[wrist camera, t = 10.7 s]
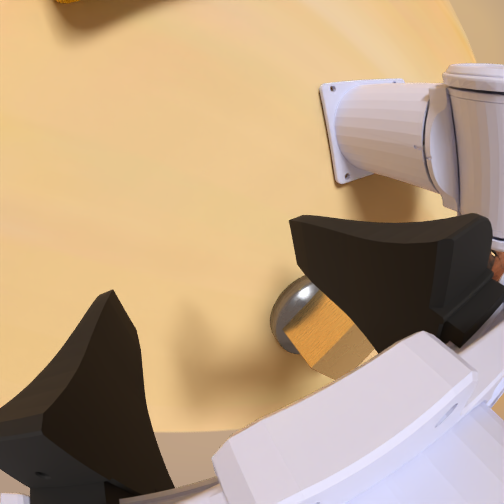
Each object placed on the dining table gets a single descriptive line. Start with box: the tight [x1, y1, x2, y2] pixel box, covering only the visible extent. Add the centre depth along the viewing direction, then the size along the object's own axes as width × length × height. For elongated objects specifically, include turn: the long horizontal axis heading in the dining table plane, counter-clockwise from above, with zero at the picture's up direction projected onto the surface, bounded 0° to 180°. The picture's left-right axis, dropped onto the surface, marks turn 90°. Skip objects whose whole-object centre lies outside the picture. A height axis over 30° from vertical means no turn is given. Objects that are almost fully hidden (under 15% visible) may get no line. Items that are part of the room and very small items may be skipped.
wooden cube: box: [282, 290, 375, 380], centre depth 23 cm, size 5×5×5 cm
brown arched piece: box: [487, 249, 504, 282], centre depth 34 cm, size 12×10×8 cm
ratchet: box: [270, 275, 320, 354], centre depth 26 cm, size 22×8×5 cm, turn 105°
